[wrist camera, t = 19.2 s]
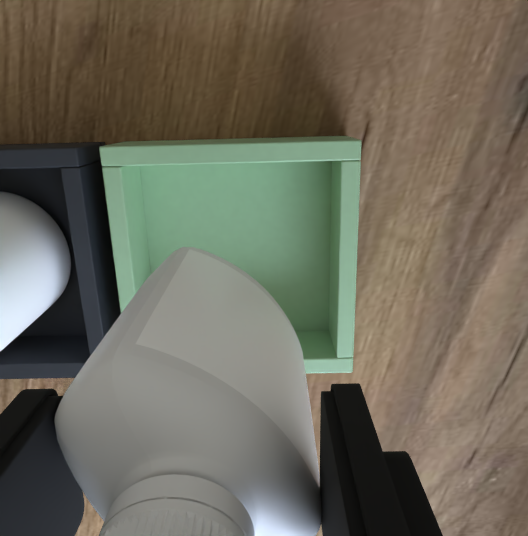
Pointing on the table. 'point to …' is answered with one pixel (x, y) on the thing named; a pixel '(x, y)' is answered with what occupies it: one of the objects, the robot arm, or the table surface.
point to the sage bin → (248, 223)
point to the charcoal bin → (81, 252)
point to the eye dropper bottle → (195, 411)
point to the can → (28, 264)
